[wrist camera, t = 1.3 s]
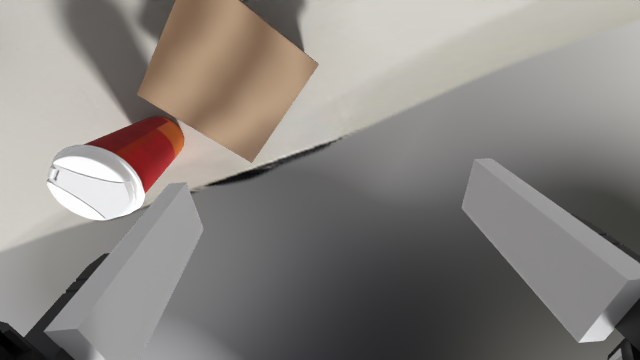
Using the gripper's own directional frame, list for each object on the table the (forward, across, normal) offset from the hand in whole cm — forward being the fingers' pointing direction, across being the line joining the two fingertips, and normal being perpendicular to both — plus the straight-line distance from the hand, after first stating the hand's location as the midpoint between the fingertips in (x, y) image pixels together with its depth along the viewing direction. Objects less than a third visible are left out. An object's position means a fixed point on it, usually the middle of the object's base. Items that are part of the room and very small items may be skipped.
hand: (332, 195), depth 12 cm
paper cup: (+25, -21, -5) cm, 33 cm away
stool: (+25, -9, +3) cm, 26 cm away
